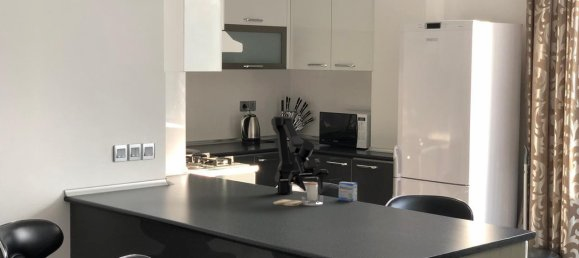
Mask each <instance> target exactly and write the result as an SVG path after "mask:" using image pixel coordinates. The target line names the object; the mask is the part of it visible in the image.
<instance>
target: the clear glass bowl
mask: <svg viewBox="0 0 579 258" xmlns="http://www.w3.org/2000/svg"><path fill="white" fill-rule="evenodd" d="M318 198H319V200H316V201H309V200H306V196H301V201H302V204H301V205H302V206H308V207H309V206H310V207H318V206H322V205H323V204H324V195H319V197H318Z"/></svg>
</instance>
